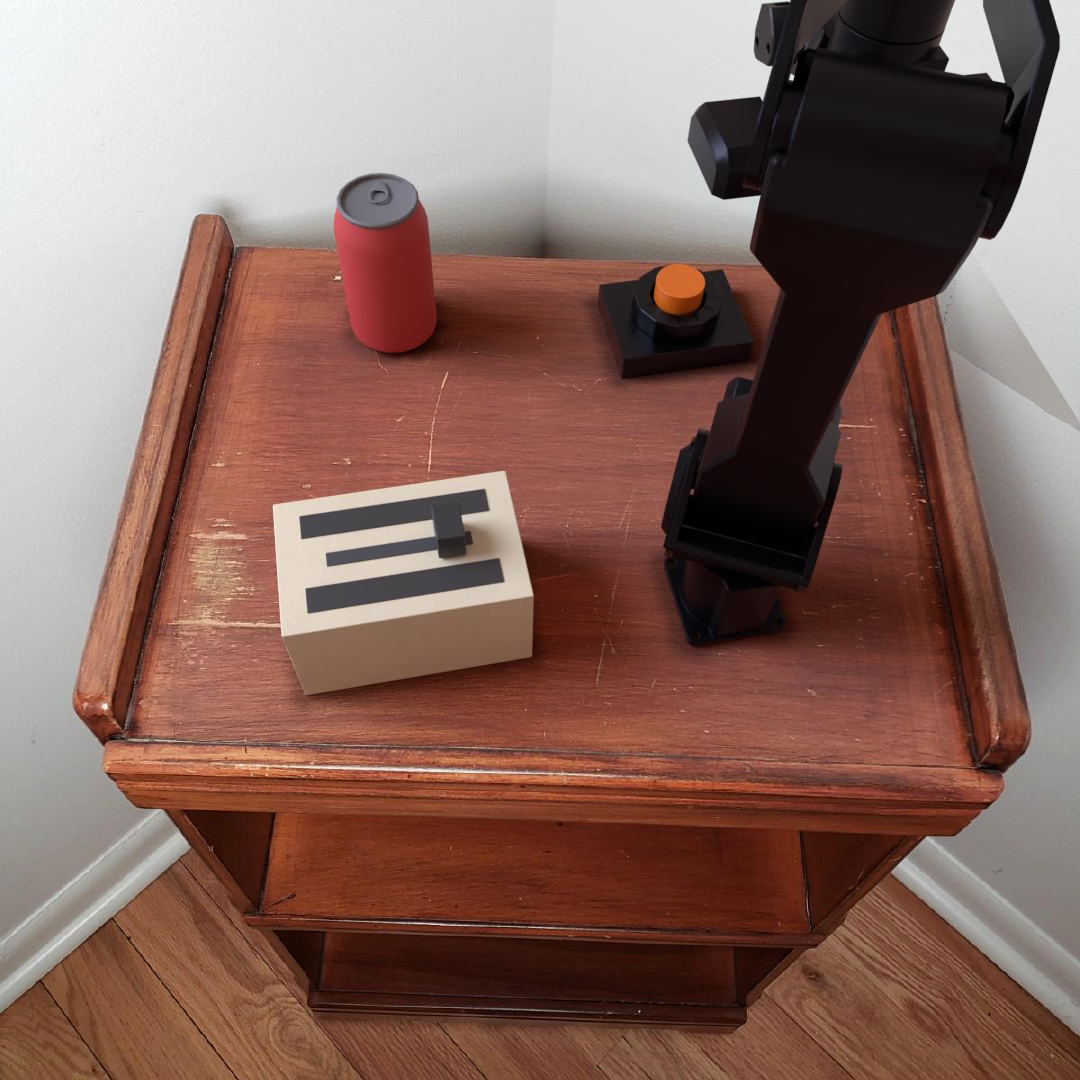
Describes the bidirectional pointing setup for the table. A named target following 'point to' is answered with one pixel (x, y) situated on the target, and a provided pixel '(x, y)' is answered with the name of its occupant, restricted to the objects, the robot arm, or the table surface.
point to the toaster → (401, 584)
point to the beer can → (385, 262)
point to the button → (679, 289)
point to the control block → (672, 328)
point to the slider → (448, 529)
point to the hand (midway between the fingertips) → (818, 247)
